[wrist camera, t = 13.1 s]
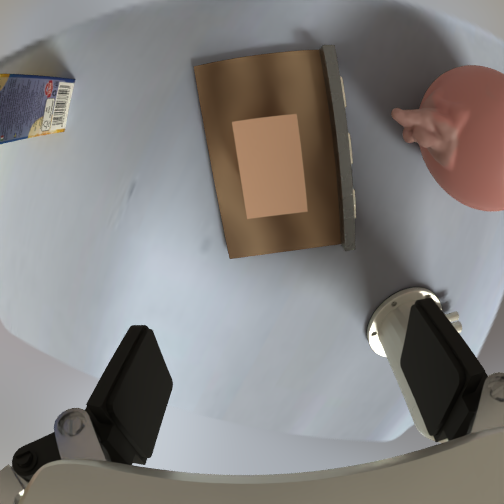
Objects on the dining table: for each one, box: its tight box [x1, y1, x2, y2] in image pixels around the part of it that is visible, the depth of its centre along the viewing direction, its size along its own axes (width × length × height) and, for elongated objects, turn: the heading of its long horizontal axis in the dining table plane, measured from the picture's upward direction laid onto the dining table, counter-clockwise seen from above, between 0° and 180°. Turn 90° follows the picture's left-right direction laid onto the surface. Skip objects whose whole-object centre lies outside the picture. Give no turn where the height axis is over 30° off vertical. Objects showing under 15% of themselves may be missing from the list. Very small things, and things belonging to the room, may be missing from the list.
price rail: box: [319, 45, 356, 251], centre depth 30 cm, size 2×22×4 cm, turn 9°
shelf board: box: [194, 50, 341, 259], centre depth 31 cm, size 13×22×2 cm, turn 9°
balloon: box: [391, 65, 504, 211], centre depth 22 cm, size 15×20×15 cm
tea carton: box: [232, 114, 308, 219], centre depth 27 cm, size 8×5×8 cm, turn 8°
